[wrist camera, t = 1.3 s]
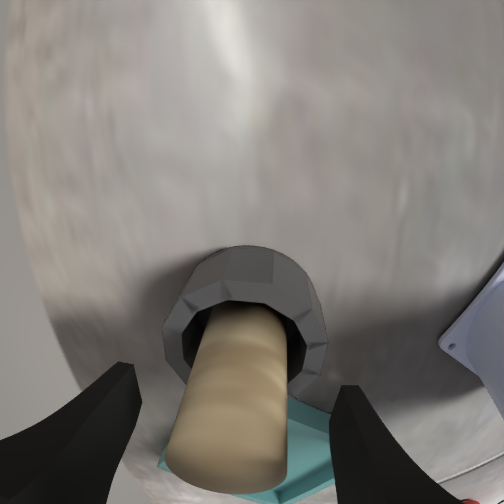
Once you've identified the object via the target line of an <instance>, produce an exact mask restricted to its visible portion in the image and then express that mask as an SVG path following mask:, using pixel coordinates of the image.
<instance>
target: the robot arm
mask: <svg viewBox="0 0 504 504" xmlns="http://www.w3.org/2000/svg"><path fill="white" fill-rule="evenodd" d="M438 344H439V346H440V348H441V349H442V350H444V351H445V352H446V353H448V354H449V355H450V356H452V357H453V358H455V359H456V360H457V361H459V362H460V363H461V364H463V365H464V366H465V367H467V368H468V369H470V370H471V371H472V372H474V373H475V374H476V375H478V376H479V377H480V379H481V381H482V382H483V384H484V386H485V387H486V389H487V391H488V393H489V394H490V396H491V398H492V399H493V401H494V403H495V405H496V407H497V408H498V410H499V412H500V414H501V416H502V418H503V419H504V262H503V264H502V265H501V266H500V268H499V269H498V270H497V272H496V273H495V274H494V276H493V277H492V278H491V279H490V281H489V282H488V283H487V285H486V286H485V287H484V288H483V290H482V291H481V292H480V293H479V294H478V296H477V297H476V298H475V299H474V300H473V302H472V303H471V304H470V305H469V306H468V307H467V309H466V310H465V311H464V312H463V313H462V314H461V315H460V317H459V318H458V319H457V320H456V321H455V322H454V323H453V324H452V325H451V326H450V328H449V329H448V330H447V331H446V332H445V333H444V334H443V335H442V336H441V337H440V339H439V341H438ZM450 344H451V345H450ZM449 345H450V346H449ZM141 405H142V399H141V395H140V391H139V387H138V382H137V378H136V374H135V369H134V365H133V364H128V363H123V362H117V363H116V364H115V365H113V366H112V367H111V368H110V369H109V370H107V371H106V372H105V373H104V374H103V375H102V376H101V377H99V378H98V379H97V380H96V381H95V382H93V383H92V384H91V385H90V386H89V387H87V388H86V389H85V390H84V391H83V392H81V393H80V394H79V395H78V396H77V397H75V398H74V399H73V400H71V401H70V402H69V403H67V404H66V405H64V406H63V407H62V408H61V409H59V410H58V411H56V412H55V413H53V414H52V415H50V416H49V417H47V418H45V419H44V420H42V421H40V422H38V423H37V424H35V425H33V426H31V427H29V428H27V429H25V430H23V431H21V432H19V433H17V434H14V435H12V436H10V437H7V438H5V439H2V440H0V504H106V502H107V498H108V494H109V491H110V487H111V484H112V480H113V477H114V474H115V472H116V469H117V467H118V464H119V462H120V460H121V458H122V456H123V453H124V451H125V449H126V446H127V444H128V442H129V440H130V437H131V435H132V433H133V430H134V428H135V426H136V422H137V419H138V416H139V412H140V409H141ZM329 446H330V453H331V459H332V466H333V472H334V479H335V486H336V492H337V501H338V504H465V503H463V502H462V501H460V500H459V499H457V498H456V497H454V496H453V495H451V494H450V493H449V492H447V491H446V490H445V489H444V488H442V487H441V486H440V485H439V484H437V483H436V482H435V481H434V480H432V479H431V478H430V477H429V476H428V475H427V474H426V473H425V472H424V471H423V470H422V469H421V468H420V467H419V466H418V465H417V464H416V463H415V462H414V461H413V460H412V459H411V458H410V457H409V455H408V454H407V453H406V452H405V451H404V450H403V448H402V447H401V446H400V445H399V443H398V442H397V441H396V440H395V438H394V437H393V436H392V434H391V433H390V432H389V430H388V429H387V427H386V426H385V425H384V423H383V422H382V421H381V419H380V418H379V416H378V415H377V413H376V412H375V410H374V409H373V407H372V406H371V404H370V402H369V401H368V399H367V398H366V396H365V395H364V393H363V391H362V390H361V388H360V387H359V386H358V385H341V388H340V391H339V394H338V397H337V400H336V403H335V406H334V408H333V411H332V414H331V417H330V419H329Z"/></svg>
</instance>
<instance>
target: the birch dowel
mask: <svg viewBox="0 0 504 504" xmlns="http://www.w3.org/2000/svg"><path fill="white" fill-rule="evenodd" d="M164 459H165V463H166V465H167V467H168V468H169V469H170V470H171V471H172V472H173V473H174V474H175V475H176V476H177V477H179V478H180V479H182V480H184V481H185V482H187V483H189V484H191V485H194V486H196V487H199V488H202V489H205V490H209V491H213V492H218V493H225V494H254V493H260V492H264V491H267V490H270V489H273V488H275V487H277V486H278V485H280V484H281V483H282V482H283V481H284V480H285V479H286V477H287V465H288V406H287V342H286V316H285V315H284V314H282V313H280V312H279V311H277V310H275V309H274V308H272V307H270V306H269V305H267V304H265V303H257V302H246V301H235V300H226V301H223V302H221V303H218V304H216V305H213V307H212V310H211V313H210V316H209V319H208V322H207V325H206V328H205V331H204V334H203V337H202V340H201V343H200V346H199V349H198V352H197V355H196V358H195V361H194V364H193V367H192V370H191V373H190V376H189V379H188V383H187V386H186V389H185V392H184V395H183V398H182V401H181V404H180V407H179V411H178V414H177V417H176V420H175V423H174V426H173V429H172V433H171V436H170V439H169V442H168V445H167V449H166V452H165V456H164Z"/></svg>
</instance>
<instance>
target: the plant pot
mask: <svg viewBox="0 0 504 504" xmlns="http://www.w3.org/2000/svg"><path fill="white" fill-rule="evenodd" d="M462 502H463V503H465V504H480V503H479V502H477V501H473V500H468V501H462Z"/></svg>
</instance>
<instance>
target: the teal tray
mask: <svg viewBox="0 0 504 504" xmlns="http://www.w3.org/2000/svg"><path fill="white" fill-rule="evenodd" d="M287 406H288V465H287V477H286V479H285V480H284V481H283V482H282V483H281V484H280V485H278V486H277V487H275V488H273V489H270V490H267V491H264V492H260V493H254V494H230V495H233V496H236V497H240V498H243V499H247V500H250V501H254V502H257V503H261V504H293V503H295V502H297V501H300V500H302V499H304V498H306V497H308V496H310V495H312V494H314V493H316V492H318V491H320V490H322V489H324V488H326V487H328V486H330V485H332V484H334V483H335V479H334V472H333V466H332V459H331V453H330V446H329V419H330V417H331V415H330V414H328V413H325V412H323V411H321V410H318V409H316V408H314V407H311V406H309V405H307V404H305V403H302V402H300V401H298V400H296V399H293V398H291V399H288V400H287ZM166 449H167V446H166V447H165V448H164V449H163V450H162V453H161V456H160V459H159V462H158V466H157V467H159V468H161V469H164V470H166V471H168V472H171V473H173V472H172V471H171V470H170V469H169V468H168V467H167V465H166V463H165V459H164V456H165V452H166ZM173 474H174V473H173Z"/></svg>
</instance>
